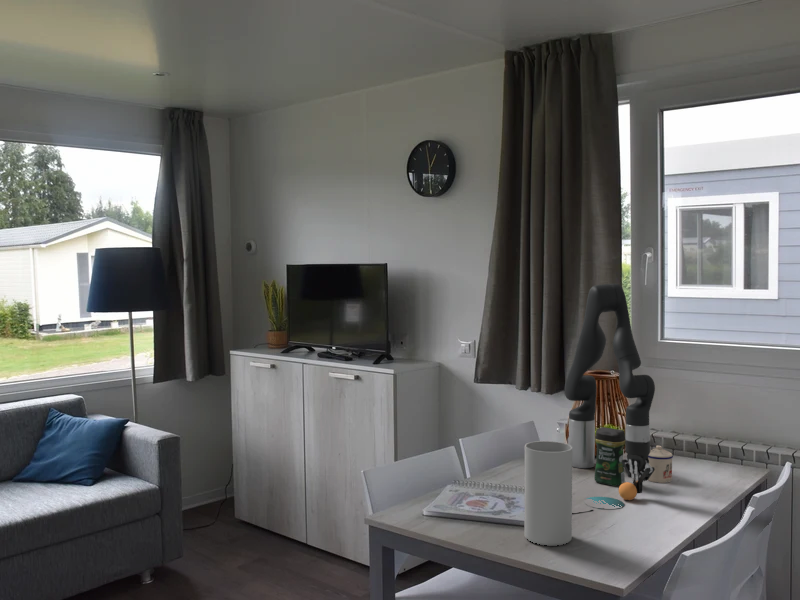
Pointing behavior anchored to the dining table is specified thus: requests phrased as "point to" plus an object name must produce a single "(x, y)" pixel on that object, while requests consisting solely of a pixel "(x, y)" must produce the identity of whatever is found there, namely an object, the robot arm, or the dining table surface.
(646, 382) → the robot arm
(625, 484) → the ball
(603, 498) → the teal mark
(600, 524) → the dining table surface
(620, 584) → the dining table surface
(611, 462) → the coffee jar
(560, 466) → the cylinder vase
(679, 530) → the dining table surface
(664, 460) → the teacup with lid
